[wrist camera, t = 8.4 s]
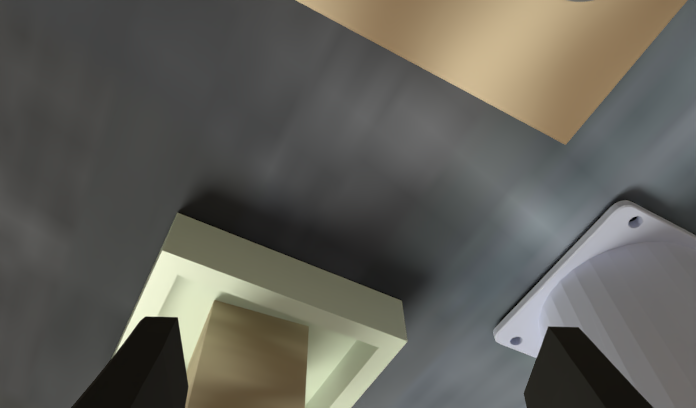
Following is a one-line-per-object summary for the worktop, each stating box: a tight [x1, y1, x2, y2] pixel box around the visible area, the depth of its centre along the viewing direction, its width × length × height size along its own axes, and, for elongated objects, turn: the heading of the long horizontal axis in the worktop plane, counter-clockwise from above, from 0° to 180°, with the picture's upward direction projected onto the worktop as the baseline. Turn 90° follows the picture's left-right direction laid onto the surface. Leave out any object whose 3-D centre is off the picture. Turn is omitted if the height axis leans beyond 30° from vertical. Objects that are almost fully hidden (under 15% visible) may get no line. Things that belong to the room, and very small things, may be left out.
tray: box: [111, 213, 407, 408], centre depth 23 cm, size 10×10×2 cm
